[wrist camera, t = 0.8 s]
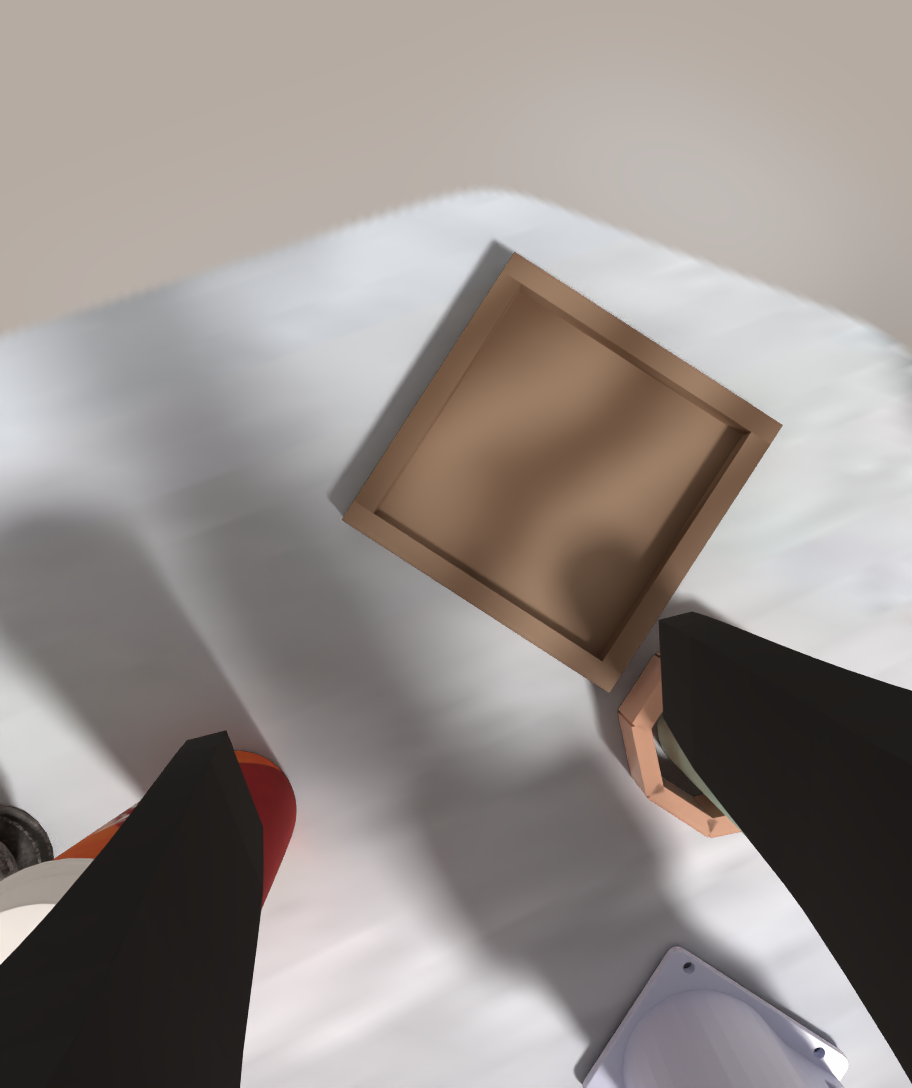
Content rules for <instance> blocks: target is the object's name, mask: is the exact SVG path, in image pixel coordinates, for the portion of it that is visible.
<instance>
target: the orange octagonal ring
mask: <svg viewBox="0 0 912 1088" xmlns="http://www.w3.org/2000/svg"><path fill="white" fill-rule="evenodd" d="M656 655H657V656H655V655H653V657H652V658H651V660H650V661H649V663H648V664H647V666H646V667H645V669H644V670H643V672H642V674H641V675H640V677H639V678H638V680H637V681H636V683H635V684H634V686H633V687H632V689H631V691H630V692H629V694H628V695H627V697H626V698H625V700H624V701H623V703H622V704H621V706H620V707H619V709H618V710H619V711H620V712H618V717H619V721H620V726H621V731H622V735H623V740H624V745H625V749H626V754H627V759H628V763H629V768H630V773H631V777H632V778H633V779H634V781H635V782H636V783H637V785H638V786H639V787H640V789H641V790H642V791H643V793H644V794H645V795H646V797H647V798H648V799H649V800H650V801H652V802H654V803H655V804H657V805H658V806H660V807H661V808H663V809H664V810H666V811H667V812H669V813H671V814H672V815H674V816H675V817H677V818H678V819H680V820H681V821H683V822H684V823H686V824H687V825H689V826H691V827H692V828H694V829H695V830H697V831H698V832H700V833H701V834H703V835H704V836H706V837H708V836H709V837H710V838H714V837H719V836H723V835H728V834H733V833H737V832H741V831H740V830H739V829H738V828H737V827H736V826H735V825H734V824H733V823H732V822H731V821H730V820H729V819H728V818H727V817H726V816H725V815H724V814H723V812H722V811H721V810H720V809H719V808H718V807H717V806H716V805H715V804H714V803H713V802H712V801H711V800H710V799H709V798H708V797H707V796H706V795H705V794H702V795H698V796H693V797H692V796H691V795H689V794H688V793H686V792H685V791H683V790H682V789H680V788H679V787H677V786H675V785H674V784H672V783H671V782H669V781H668V780H666V779H665V778H663V777H662V776H661V772H660V768H659V763H658V758H657V754H656V749H655V744H654V740H653V735H652V730H651V729H652V727H653V725H654V724H655V722H656V721H657V719H658V718H659V716H660V715H661V713H662V712H663V702H662V682H661V661H660V652H659V653H656Z"/></svg>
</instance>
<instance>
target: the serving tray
mask: <svg viewBox="0 0 912 1088" xmlns="http://www.w3.org/2000/svg"><path fill="white" fill-rule="evenodd" d="M782 426H783V425H782V424H780V423H779V422H777V421H776V420H774V419H773V418H771V417H769V416H768V415H766V414H765V413H763V412H762V411H760V410H759V409H757V408H756V407H754V406H752V405H751V404H749V403H748V402H746V401H745V400H743V399H742V398H740V397H739V396H737V395H735V394H734V393H732V392H731V391H729V390H728V389H726V388H725V387H723V386H721V385H720V384H718V383H717V382H715V381H714V380H712V379H711V378H709V377H708V376H706V375H704V374H703V373H701V372H700V371H698V370H697V369H695V368H694V367H692V366H691V365H689V364H687V363H686V362H684V361H683V360H681V359H680V358H678V357H677V356H675V355H673V354H672V353H670V352H669V351H667V350H666V349H664V348H663V347H661V346H660V345H658V344H656V343H655V342H653V341H652V340H650V339H649V338H647V337H646V336H644V335H643V334H641V333H639V332H638V331H636V330H635V329H633V328H632V327H630V326H629V325H627V324H626V323H624V322H622V321H621V320H619V319H618V318H616V317H615V316H613V315H612V314H610V313H608V312H607V311H605V310H604V309H602V308H601V307H599V306H598V305H596V304H595V303H593V302H591V301H590V300H588V299H587V298H585V297H584V296H582V295H581V294H579V293H578V292H576V291H574V290H573V289H571V288H570V287H568V286H567V285H565V284H564V283H562V282H560V281H559V280H557V279H556V278H554V277H553V276H551V275H550V274H548V273H547V272H545V271H543V270H542V269H540V268H539V267H537V266H536V265H534V264H533V263H531V262H530V261H528V260H526V259H525V258H523V257H522V256H520V255H519V254H517V253H516V252H514V254H513V255H512V257H511V258H510V260H509V262H508V263H507V265H506V266H505V268H504V269H503V271H502V272H501V274H500V275H499V277H498V279H497V280H496V282H495V283H494V285H493V286H492V288H491V289H490V291H489V292H488V294H487V296H486V297H485V299H484V300H483V302H482V303H481V305H480V306H479V308H478V309H477V311H476V313H475V314H474V316H473V317H472V319H471V320H470V322H469V323H468V325H467V326H466V328H465V330H464V331H463V333H462V334H461V336H460V337H459V339H458V340H457V342H456V343H455V345H454V347H453V348H452V350H451V351H450V353H449V354H448V356H447V357H446V359H445V360H444V362H443V364H442V365H441V367H440V368H439V370H438V371H437V373H436V374H435V376H434V377H433V379H432V381H431V382H430V384H429V385H428V387H427V388H426V390H425V391H424V393H423V394H422V396H421V398H420V399H419V401H418V402H417V404H416V405H415V407H414V408H413V410H412V411H411V413H410V415H409V416H408V418H407V419H406V421H405V422H404V424H403V425H402V427H401V428H400V430H399V432H398V433H397V435H396V436H395V438H394V439H393V441H392V442H391V444H390V445H389V447H388V448H387V450H386V452H385V453H384V455H383V456H382V458H381V459H380V461H379V462H378V464H377V465H376V467H375V469H374V470H373V472H372V473H371V475H370V476H369V478H368V479H367V481H366V482H365V484H364V486H363V487H362V489H361V490H360V492H359V493H358V495H357V496H356V498H355V499H354V501H353V503H352V504H351V506H350V507H349V509H348V510H347V512H346V513H345V515H344V516H343V518H342V520H343V521H344V522H346V523H347V524H349V525H350V526H352V527H353V528H355V529H357V530H358V531H360V532H361V533H363V534H364V535H366V536H367V537H369V538H370V539H372V540H374V541H375V542H377V543H378V544H380V545H381V546H383V547H384V548H386V549H387V550H389V551H390V552H392V553H394V554H395V555H397V556H398V557H400V558H401V559H403V560H404V561H406V562H407V563H409V564H411V565H412V566H414V567H415V568H417V569H418V570H420V571H421V572H423V573H424V574H426V575H428V576H429V577H431V578H432V579H434V580H435V581H437V582H438V583H440V584H441V585H443V586H445V587H446V588H448V589H449V590H451V591H452V592H454V593H455V594H457V595H458V596H460V597H462V598H463V599H465V600H466V601H468V602H469V603H471V604H472V605H474V606H475V607H477V608H478V609H480V610H482V611H483V612H485V613H486V614H488V615H489V616H491V617H492V618H494V619H495V620H497V621H499V622H500V623H502V624H503V625H505V626H506V627H508V628H509V629H511V630H512V631H514V632H516V633H517V634H519V635H520V636H522V637H523V638H525V639H526V640H528V641H529V642H531V643H533V644H534V645H536V646H537V647H539V648H540V649H542V650H543V651H545V652H546V653H548V654H550V655H551V656H553V657H554V658H556V659H557V660H559V661H560V662H562V663H563V664H565V665H567V666H568V667H570V668H571V669H573V670H574V671H576V672H577V673H579V674H580V675H582V676H583V677H585V678H587V679H588V680H590V681H591V682H593V683H594V684H596V685H597V686H599V687H600V688H602V689H604V690H605V691H607V692H608V693H610V691H611V690H612V688H613V686H614V685H615V683H616V682H617V680H618V679H619V677H620V676H621V674H622V673H623V671H624V670H625V668H626V666H627V665H628V663H629V662H630V660H631V659H632V657H633V656H634V654H635V653H636V651H637V649H638V648H639V646H640V645H641V643H642V642H643V640H644V639H645V637H646V636H647V634H648V632H649V631H650V629H651V628H652V626H653V625H654V623H655V622H656V620H657V619H658V617H659V616H660V614H661V612H662V611H663V609H664V608H665V606H666V605H667V603H668V602H669V600H670V599H671V597H672V595H673V594H674V592H675V591H676V589H677V588H678V586H679V585H680V583H681V582H682V580H683V578H684V577H685V575H686V574H687V572H688V571H689V569H690V568H691V566H692V565H693V563H694V562H695V560H696V558H697V557H698V555H699V554H700V552H701V551H702V549H703V548H704V546H705V545H706V543H707V541H708V540H709V538H710V537H711V535H712V534H713V532H714V531H715V529H716V528H717V526H718V524H719V523H720V521H721V520H722V518H723V517H724V515H725V514H726V512H727V511H728V509H729V508H730V506H731V504H732V503H733V501H734V500H735V498H736V497H737V495H738V494H739V492H740V491H741V489H742V487H743V486H744V484H745V483H746V481H747V480H748V478H749V477H750V475H751V474H752V472H753V470H754V469H755V467H756V466H757V464H758V463H759V461H760V460H761V458H762V457H763V455H764V453H765V452H766V450H767V449H768V447H769V446H770V444H771V443H772V441H773V440H774V438H775V437H776V435H777V433H778V432H779V430H780V429H781V427H782Z"/></svg>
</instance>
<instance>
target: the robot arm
mask: <svg viewBox="0 0 912 1088" xmlns="http://www.w3.org/2000/svg"><path fill="white" fill-rule="evenodd" d="M659 641H660V661H661V682H662V702H663V718H664V720H665V722H666V724H667V725H668V727H669V729H670V731H671V732H672V734H673V736H674V738H675V739H676V741H677V743H678V745H679V746H680V748H681V749H682V751H683V753H684V754H685V756H686V758H687V759H688V761H689V762H690V764H691V766H692V767H693V769H694V770H695V772H696V773H697V774H698V775H699V777H700V778H701V779H702V781H703V782H704V783H705V785H706V786H707V787H708V788H709V790H710V791H711V792H712V794H713V795H714V796H715V797H716V799H717V800H718V801H719V803H720V804H721V805H722V806H723V808H724V809H725V810H726V811H727V813H728V814H729V815H730V817H731V818H732V819H733V820H734V822H735V823H736V824H737V825H738V827H739V828H740V829H741V830H742V832H743V833H744V834H745V835H746V837H747V838H748V839H749V840H750V842H751V843H752V844H753V846H754V847H755V848H756V849H757V851H758V852H759V853H760V854H761V856H762V857H763V858H764V859H765V861H766V862H767V863H768V864H769V866H770V867H771V868H772V870H773V871H774V872H775V873H776V875H777V876H778V877H779V878H780V880H781V881H782V882H783V883H784V885H785V886H786V888H787V889H788V890H789V892H790V893H791V894H792V896H793V897H794V898H795V900H796V901H797V903H798V904H799V905H800V907H801V908H802V909H803V911H804V912H805V914H806V915H807V917H808V918H809V920H810V921H811V923H812V924H813V926H814V928H815V929H816V931H817V932H818V934H819V935H820V937H821V938H822V940H823V941H824V943H825V944H826V946H827V947H828V949H829V951H830V952H831V954H832V955H833V957H834V958H835V960H836V961H837V963H838V964H839V966H840V967H841V969H842V971H843V972H844V974H845V975H846V977H847V978H848V980H849V982H850V983H851V985H852V986H853V988H854V990H855V991H856V993H857V994H858V996H859V998H860V999H861V1001H862V1002H863V1004H864V1006H865V1007H866V1009H867V1011H868V1012H869V1014H870V1015H871V1017H872V1019H873V1020H874V1022H875V1023H876V1025H877V1027H878V1028H879V1030H880V1031H881V1033H882V1035H883V1036H884V1038H885V1039H886V1041H887V1043H888V1044H889V1046H890V1048H891V1049H892V1051H893V1053H894V1054H895V1056H896V1058H897V1059H898V1061H899V1063H900V1064H901V1066H902V1068H903V1070H904V1071H905V1073H906V1075H907V1076H908V1078H909V1080H910V1081H911V1083H912V691H911V690H908V689H905V688H901V687H898V686H895V685H891V684H888V683H885V682H882V681H879V680H876V679H873V678H870V677H867V676H864V675H861V674H858V673H855V672H852V671H849V670H846V669H844V668H841V667H838V666H835V665H832V664H830V663H827V662H824V661H821V660H819V659H816V658H813V657H811V656H808V655H805V654H803V653H800V652H797V651H795V650H792V649H790V648H787V647H785V646H782V645H779V644H777V643H774V642H772V641H769V640H767V639H764V638H762V637H759V636H757V635H754V634H752V633H749V632H747V631H744V630H742V629H739V628H737V627H734V626H731V625H729V624H726V623H724V622H721V621H719V620H716V619H713V618H710V617H708V616H705V615H702V614H699V613H695V612H689V613H685V614H681V615H677V616H673V617H669V618H665V619H661V620H659ZM263 879H264V836H263V825H262V822H261V820H260V817H259V815H258V812H257V809H256V807H255V804H254V801H253V799H252V796H251V794H250V791H249V788H248V786H247V783H246V781H245V778H244V775H243V773H242V770H241V767H240V765H239V762H238V760H237V757H236V754H235V752H234V749H233V747H232V744H231V741H230V739H229V736H228V733H227V731H222V732H218V733H214V734H210V735H206V736H203V737H199V738H195V739H191V740H187V741H186V742H185V743H184V745H183V746H182V747H181V748H180V749H179V751H178V752H177V753H176V754H175V756H174V757H173V758H172V760H171V761H170V762H169V764H168V765H167V766H166V768H165V769H164V770H163V772H162V773H161V774H160V775H159V777H158V778H157V779H156V781H155V782H154V783H153V785H152V786H151V787H150V789H149V790H148V791H147V793H146V794H145V795H144V797H143V798H142V799H141V801H140V802H139V803H138V805H137V806H136V807H135V808H134V810H133V811H132V812H131V814H130V815H129V816H128V817H127V819H126V820H125V821H124V823H123V824H122V825H121V826H120V828H119V829H118V830H117V832H116V833H115V834H114V835H113V837H112V838H111V839H110V841H109V842H108V843H107V844H106V846H105V847H104V848H103V849H102V850H101V852H100V853H99V854H98V855H97V856H96V858H95V859H94V860H93V861H92V862H91V864H90V865H89V866H88V867H87V868H86V869H85V871H84V872H83V873H82V874H81V875H80V877H79V878H78V879H77V880H76V881H75V882H74V884H73V885H72V886H71V887H70V888H69V890H68V891H67V892H66V893H65V894H64V895H63V897H62V898H61V899H60V900H59V901H58V903H57V904H56V905H55V906H54V907H53V909H52V910H51V911H50V912H49V913H48V914H47V915H46V916H45V918H44V919H43V920H42V921H41V922H40V923H39V924H38V925H37V926H36V928H35V929H34V930H33V931H32V932H31V933H30V934H29V935H28V936H27V937H26V938H25V939H24V940H23V942H22V943H21V944H20V945H19V946H18V947H17V948H16V949H15V950H14V951H13V952H12V953H11V954H10V955H9V956H8V957H7V958H6V959H5V960H4V961H3V962H2V963H1V964H0V1088H240V1081H241V1070H242V1059H243V1049H244V1041H245V1033H246V1026H247V1018H248V1010H249V1002H250V994H251V987H252V979H253V971H254V964H255V956H256V948H257V940H258V932H259V924H260V916H261V907H262V898H263ZM687 962H690V963H691V966H690V967H689V968H683V966H684V964H685V963H687ZM817 1047H820V1049H819V1050H818V1051H816V1052H814V1049H816V1048H817ZM847 1068H848V1060H847V1058H846V1056H845V1055H844V1054H843V1052H842V1051H841V1050H840V1049H838V1048H836V1047H835V1046H833V1045H832V1044H830V1043H829V1042H827V1041H826V1040H824V1039H823V1038H821V1037H819V1036H818V1035H816V1034H815V1033H813V1032H812V1031H810V1030H809V1029H807V1028H806V1027H804V1026H803V1025H801V1024H799V1023H798V1022H796V1021H795V1020H793V1019H792V1018H790V1017H789V1016H787V1015H786V1014H784V1013H782V1012H781V1011H779V1010H778V1009H776V1008H775V1007H773V1006H772V1005H770V1004H769V1003H767V1002H766V1001H764V1000H762V999H761V998H759V997H758V996H756V995H755V994H753V993H752V992H750V991H749V990H747V989H745V988H744V987H742V986H741V985H739V984H738V983H736V982H735V981H733V980H732V979H730V978H729V977H727V976H725V975H724V974H722V973H721V972H719V971H718V970H716V969H715V968H713V967H712V966H710V965H708V964H707V963H705V962H704V961H702V960H701V959H699V958H698V957H696V956H695V955H693V954H691V953H690V952H688V951H687V950H685V949H684V948H682V947H679V946H675V947H672V948H670V949H669V950H668V952H667V953H666V955H665V956H664V958H663V959H662V961H661V962H660V964H659V966H658V967H657V969H656V970H655V972H654V973H653V975H652V976H651V978H650V979H649V981H648V982H647V984H646V986H645V987H644V989H643V990H642V992H641V993H640V995H639V996H638V998H637V999H636V1001H635V1003H634V1004H633V1006H632V1007H631V1009H630V1010H629V1012H628V1013H627V1015H626V1016H625V1018H624V1019H623V1021H622V1023H621V1024H620V1026H619V1027H618V1029H617V1030H616V1032H615V1033H614V1035H613V1036H612V1038H611V1040H610V1041H609V1043H608V1044H607V1046H606V1047H605V1049H604V1050H603V1052H602V1053H601V1055H600V1056H599V1058H598V1060H597V1061H596V1063H595V1064H594V1066H593V1067H592V1069H591V1070H590V1072H589V1073H588V1075H587V1077H586V1078H585V1080H584V1082H583V1088H844V1087H843V1085H842V1084H841V1083H840V1080H841V1078H842V1077H843V1075H844V1074H845V1072H846V1071H847Z"/></svg>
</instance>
